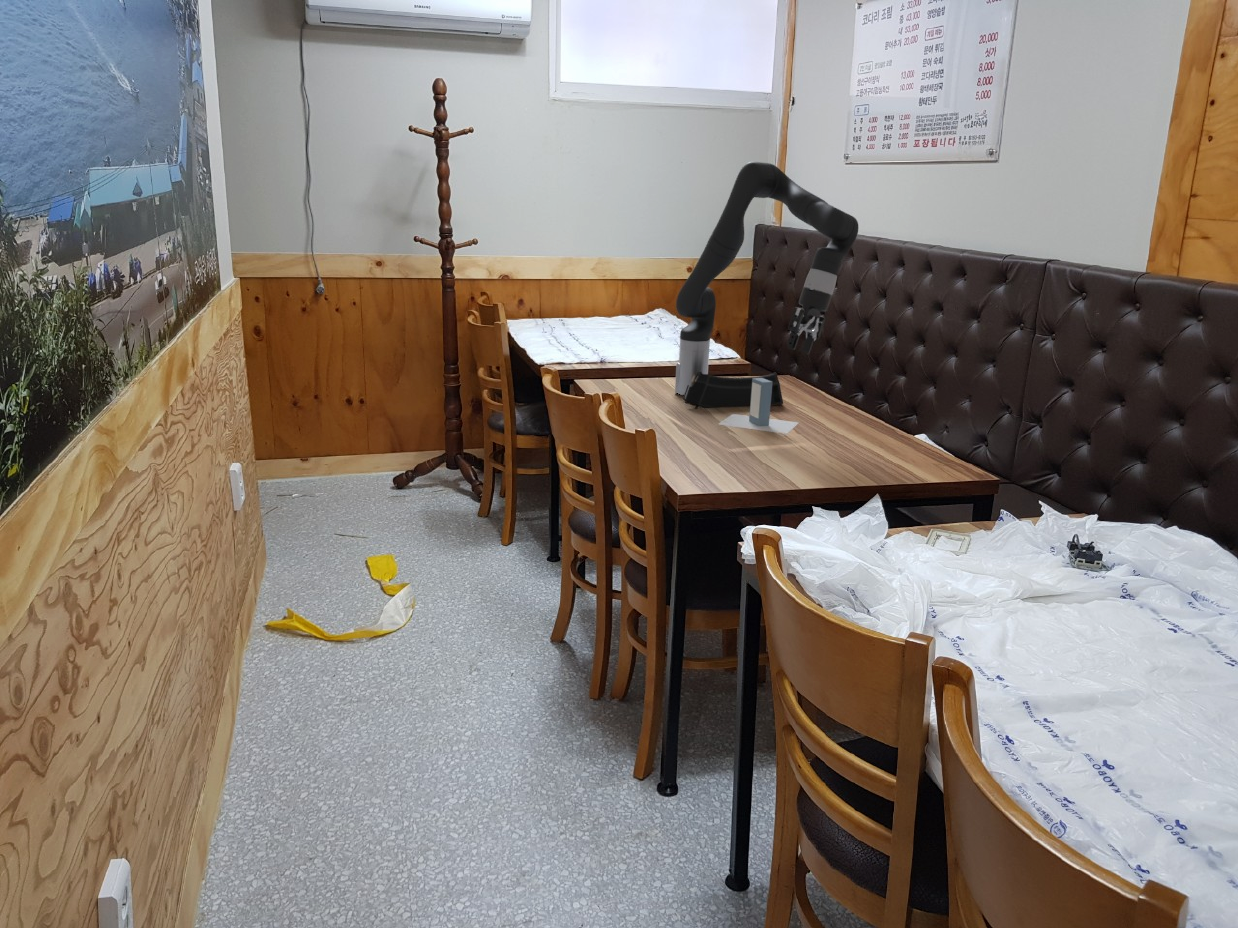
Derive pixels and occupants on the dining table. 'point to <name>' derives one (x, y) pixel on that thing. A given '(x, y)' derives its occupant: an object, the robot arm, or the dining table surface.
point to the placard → (760, 401)
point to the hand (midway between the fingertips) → (797, 351)
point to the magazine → (726, 391)
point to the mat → (743, 422)
